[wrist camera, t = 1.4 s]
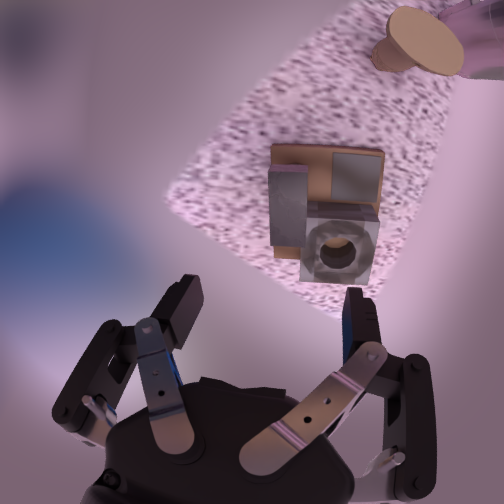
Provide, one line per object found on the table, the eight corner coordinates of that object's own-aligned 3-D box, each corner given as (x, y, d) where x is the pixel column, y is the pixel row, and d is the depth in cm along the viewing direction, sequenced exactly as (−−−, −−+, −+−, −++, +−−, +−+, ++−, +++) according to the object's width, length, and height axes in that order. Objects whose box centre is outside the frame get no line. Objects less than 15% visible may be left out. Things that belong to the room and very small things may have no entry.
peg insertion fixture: (272, 143, 33) (263, 154, 27) (381, 149, 30) (396, 163, 24) (275, 250, 41) (268, 279, 36) (367, 256, 38) (374, 285, 33)
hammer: (282, 146, 31) (267, 171, 21) (308, 147, 30) (307, 172, 21) (283, 199, 35) (270, 245, 25) (308, 200, 34) (305, 247, 25)
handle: (364, 33, 22) (399, -5, 10) (410, 58, 22) (469, 43, 10) (351, 62, 25) (381, 39, 13) (397, 88, 25) (453, 88, 13)
